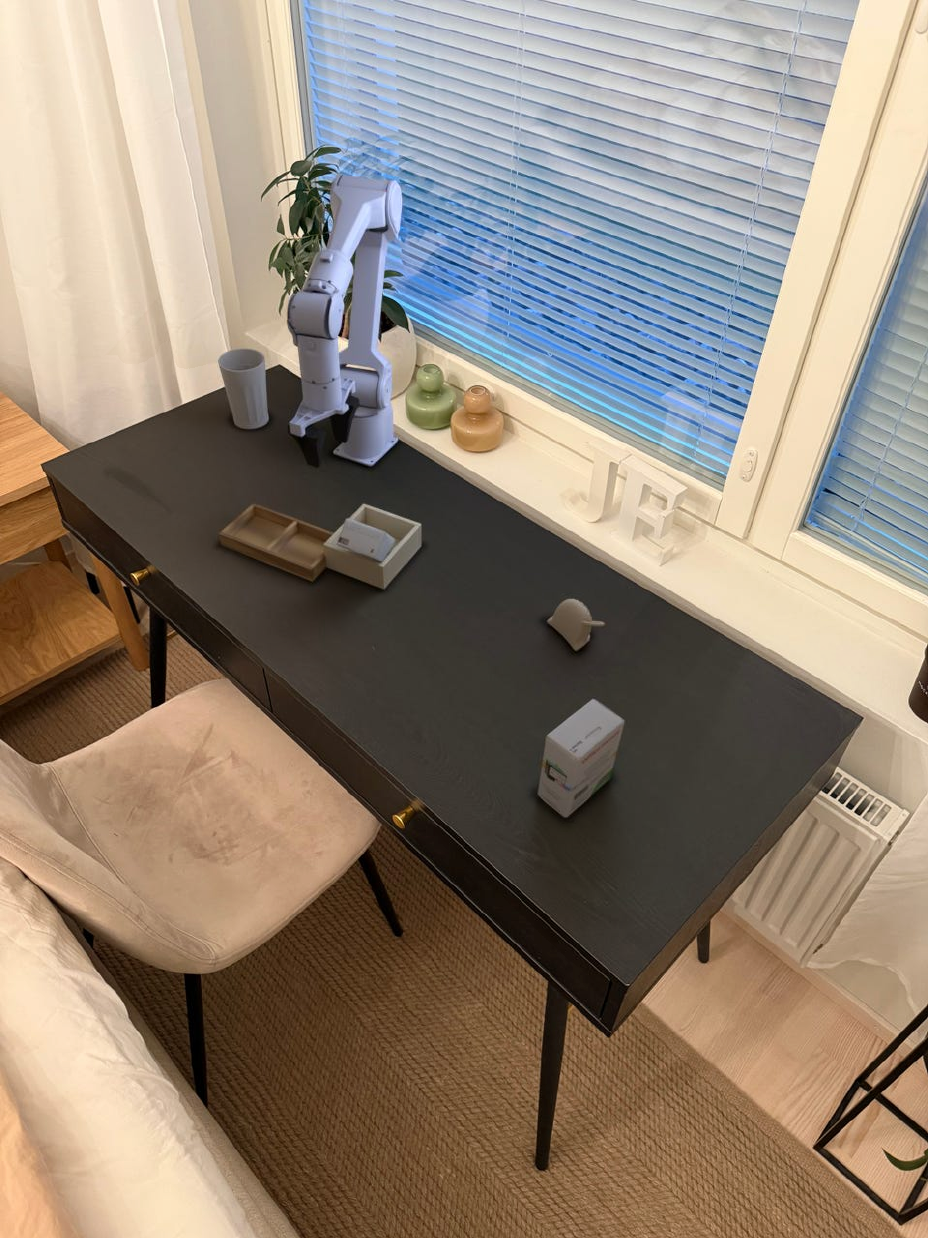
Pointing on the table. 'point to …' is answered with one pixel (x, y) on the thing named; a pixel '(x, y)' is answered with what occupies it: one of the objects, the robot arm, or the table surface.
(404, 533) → the basin
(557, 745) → the ink box
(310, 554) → the tray
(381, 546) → the cosmetic box
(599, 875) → the table surface
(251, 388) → the cup
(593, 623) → the decorative ornament
